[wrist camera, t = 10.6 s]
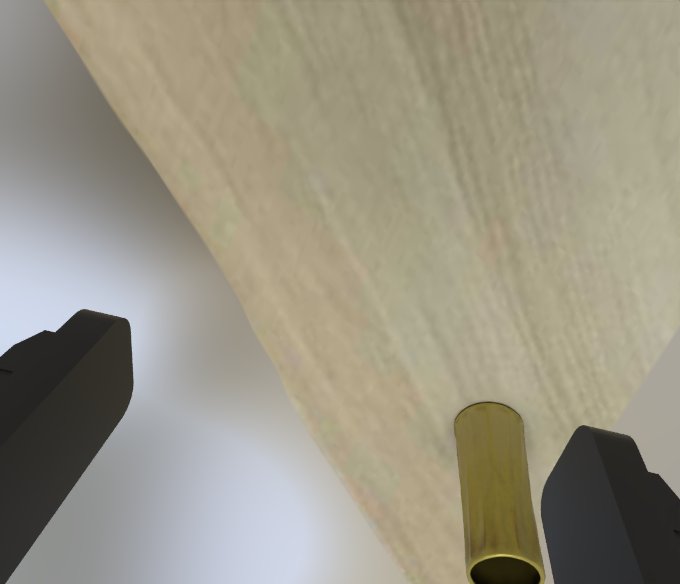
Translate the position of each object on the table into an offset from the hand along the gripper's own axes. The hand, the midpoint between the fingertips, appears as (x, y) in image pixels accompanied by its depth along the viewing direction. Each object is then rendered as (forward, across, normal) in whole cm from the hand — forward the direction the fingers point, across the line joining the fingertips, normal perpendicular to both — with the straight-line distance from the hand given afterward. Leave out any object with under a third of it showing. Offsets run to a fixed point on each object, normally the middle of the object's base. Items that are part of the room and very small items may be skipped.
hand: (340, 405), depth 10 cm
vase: (+30, -14, +27) cm, 43 cm away
